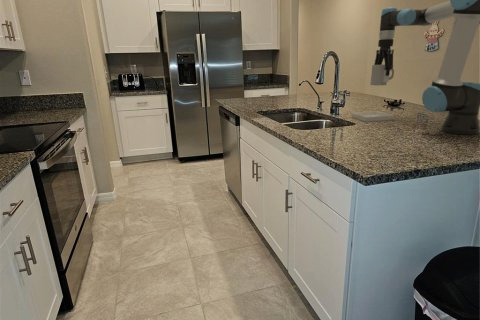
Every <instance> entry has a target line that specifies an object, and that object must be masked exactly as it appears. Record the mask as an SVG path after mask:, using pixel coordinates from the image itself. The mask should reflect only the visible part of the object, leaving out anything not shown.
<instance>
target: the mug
mask: <svg viewBox="0 0 480 320" xmlns="http://www.w3.org/2000/svg"><path fill="white" fill-rule="evenodd" d="M384 69H385V64H382V65H374V64H372V65H371V76H370V85H371V86H387V84H388V82H383V78H384ZM394 70H395V69H394V67H393V68H392V69H391V70H390V72H391V75H390V76H389V81H390V80H392V79H393V78H394V75H395V71H394Z"/></svg>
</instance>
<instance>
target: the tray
mask: <svg viewBox="0 0 480 320" xmlns="http://www.w3.org/2000/svg"><path fill="white" fill-rule="evenodd" d="M351 118H352V119H354V120H358V121H361V122H364V123H374V122H375V123H377V122H387V121H389V122H390V120H391V121H395V114H390V113H387V112H384V111H378V110H374V111H373V110H371V111H361V112H351Z"/></svg>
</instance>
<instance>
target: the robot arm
mask: <svg viewBox="0 0 480 320" xmlns="http://www.w3.org/2000/svg"><path fill="white" fill-rule="evenodd" d="M453 17H454V22H453V25H452V28H451V29H452V30H451V32H450V35H449V39H448V43H447V46H446V47H445V48H446V49H445V53H444V55H443V58H442V62H441V65H440V69H439V72H438V76H437V77H436V78H434V79H432V83H431V85H430V86H428V87H427V88H425V89H424V90H423V92H422V97H421V101H422V104H423V105H424V106H423V107H424V108H425V109H426V110H427V111H429V112H432V113H444V112H445V113H446V112H447V116H446V118H445V119H444V120H443V122H442V125H441V129H440V130H441V131H442V132H444V133H448V134H454V135H464V136H465V135H467V136H468V135H469V136H470V135H478V134H479V133H480V122H479V112H480V82H479V83H478V82H470V81H469V82H468V81H462V80H461V79H462V75H463V72H464V70H465V67H466V64H467V60H468V58H469V55H470V51H471V49H472V46H473V42H474V40H475V36H476V34H477V31H478V27H479V25H480V0H448V1H444V2H441V3H438V4H435V5H432V6H430V7H427V8H423V9H413V8H404V9H399V10H398V8H397V7H385V8H383V9H382V11H381V16H380V24H379V32H378V36H379V37H378V42H377V43H378V44H377V46H378V48H379V49H377V50H376V51H375V53H376V54H375V60H374V64H373V65H383V61H384V65H385V69H384V78H383V82H387V83H389V81H390V80H389V77H390V72H391V69H392V68H393V69H394V49H391V47H393V46H394V38H395V33H396V32H395V31H396V27H400V26H401V27H403V26H408V27H409V26H418V27H419V26H423V27H425V26H426V27H427V26H431V25H432V24H433V23H437V22H439V21H443V20H446V19H450V18H453Z"/></svg>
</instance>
